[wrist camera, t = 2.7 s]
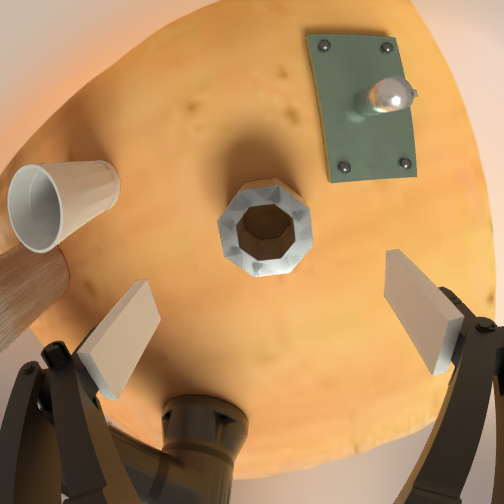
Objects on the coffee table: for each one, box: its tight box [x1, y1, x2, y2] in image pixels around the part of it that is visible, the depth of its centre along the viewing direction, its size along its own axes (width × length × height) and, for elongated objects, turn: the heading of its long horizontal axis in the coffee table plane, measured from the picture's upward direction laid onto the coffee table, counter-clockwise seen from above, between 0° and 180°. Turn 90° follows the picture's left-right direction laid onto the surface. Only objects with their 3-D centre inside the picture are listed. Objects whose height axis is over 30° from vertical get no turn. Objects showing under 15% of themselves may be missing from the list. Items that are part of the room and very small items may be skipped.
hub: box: [217, 178, 313, 277], centre depth 28 cm, size 8×8×6 cm
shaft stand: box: [305, 34, 418, 183], centre depth 21 cm, size 10×16×9 cm, turn 9°
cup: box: [7, 160, 121, 253], centre depth 25 cm, size 8×8×12 cm
